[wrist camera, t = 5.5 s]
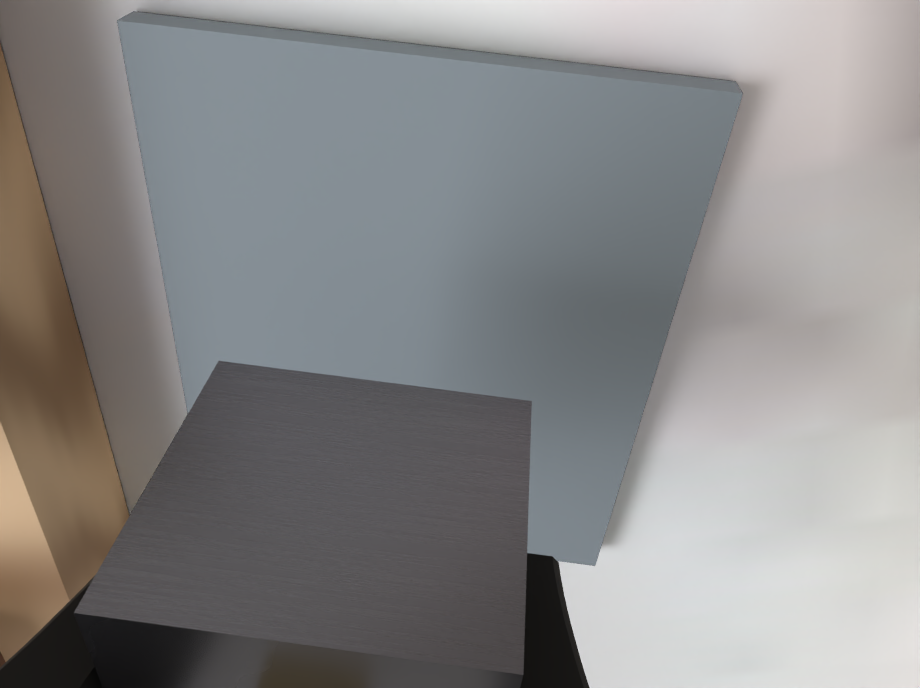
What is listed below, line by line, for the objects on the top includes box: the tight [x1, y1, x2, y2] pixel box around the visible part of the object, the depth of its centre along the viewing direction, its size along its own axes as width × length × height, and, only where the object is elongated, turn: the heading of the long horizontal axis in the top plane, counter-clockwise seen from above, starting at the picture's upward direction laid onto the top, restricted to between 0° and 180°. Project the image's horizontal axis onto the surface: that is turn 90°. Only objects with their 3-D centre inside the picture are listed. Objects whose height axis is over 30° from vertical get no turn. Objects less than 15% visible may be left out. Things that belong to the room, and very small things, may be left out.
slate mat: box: [117, 11, 743, 566], centre depth 16 cm, size 12×10×1 cm
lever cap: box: [74, 361, 532, 688], centre depth 10 cm, size 5×4×5 cm
